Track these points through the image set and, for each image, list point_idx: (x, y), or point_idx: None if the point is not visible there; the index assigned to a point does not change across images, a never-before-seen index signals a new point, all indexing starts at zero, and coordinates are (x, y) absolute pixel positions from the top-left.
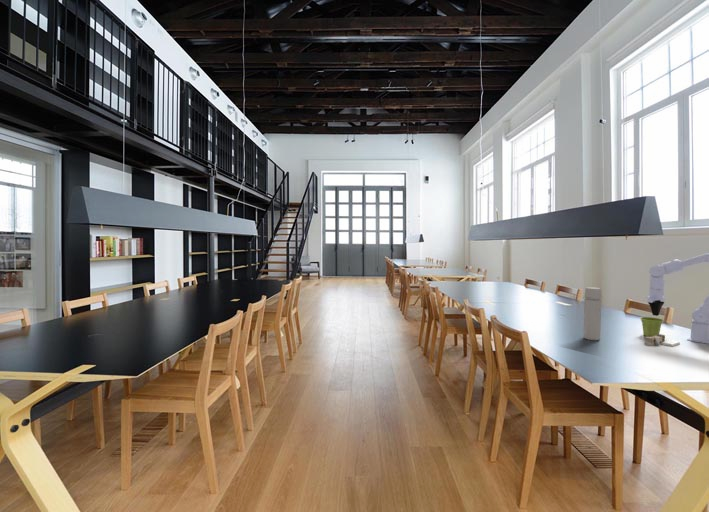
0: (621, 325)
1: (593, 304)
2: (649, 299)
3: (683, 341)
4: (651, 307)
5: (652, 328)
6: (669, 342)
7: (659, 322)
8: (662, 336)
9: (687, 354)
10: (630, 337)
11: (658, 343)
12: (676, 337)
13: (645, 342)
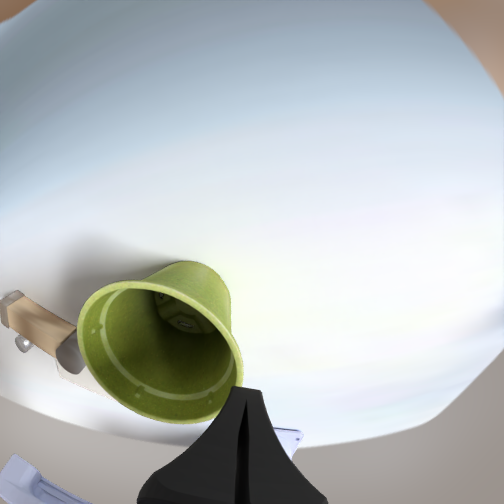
0: (413, 92)
1: None
2: (4, 488)
3: None
4: (196, 444)
5: (128, 335)
6: None
7: (131, 395)
8: (62, 363)
9: (28, 389)
10: (65, 219)
11: None
12: (262, 391)
13: (13, 296)
